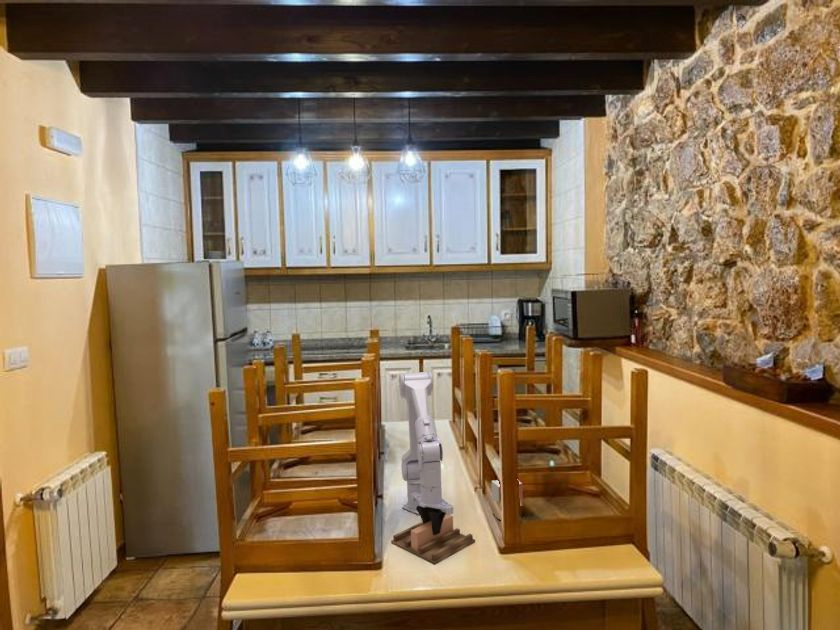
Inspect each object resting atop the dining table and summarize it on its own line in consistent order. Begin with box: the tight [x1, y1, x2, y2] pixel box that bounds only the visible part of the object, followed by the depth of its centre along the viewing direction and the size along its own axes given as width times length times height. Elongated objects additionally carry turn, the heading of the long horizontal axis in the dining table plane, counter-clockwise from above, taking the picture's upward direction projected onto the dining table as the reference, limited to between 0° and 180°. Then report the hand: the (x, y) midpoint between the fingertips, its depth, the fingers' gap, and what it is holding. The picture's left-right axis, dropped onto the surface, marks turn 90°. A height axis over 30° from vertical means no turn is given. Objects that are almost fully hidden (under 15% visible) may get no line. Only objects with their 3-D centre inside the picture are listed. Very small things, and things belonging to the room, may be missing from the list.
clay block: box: [411, 514, 454, 551], centre depth 156 cm, size 14×2×5 cm, turn 134°
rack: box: [390, 521, 476, 566], centre depth 157 cm, size 16×17×2 cm
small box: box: [491, 479, 524, 507], centre depth 171 cm, size 8×6×10 cm
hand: (432, 531), depth 156 cm, fingers closed on clay block, 2 cm apart
